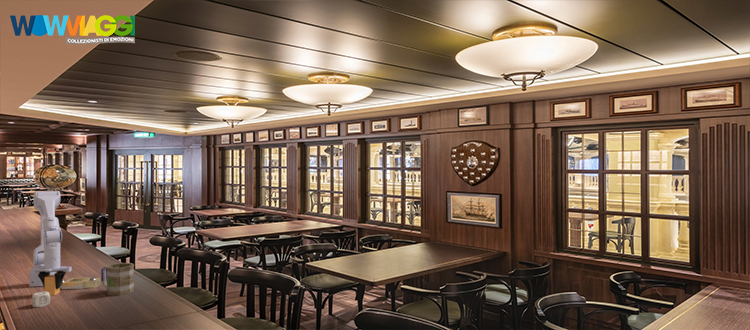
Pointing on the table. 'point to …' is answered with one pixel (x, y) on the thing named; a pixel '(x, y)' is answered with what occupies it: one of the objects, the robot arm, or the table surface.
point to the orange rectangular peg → (51, 285)
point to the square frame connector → (80, 283)
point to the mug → (119, 279)
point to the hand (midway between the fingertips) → (52, 288)
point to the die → (40, 299)
